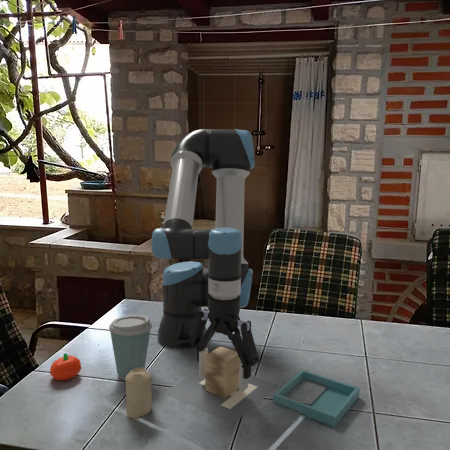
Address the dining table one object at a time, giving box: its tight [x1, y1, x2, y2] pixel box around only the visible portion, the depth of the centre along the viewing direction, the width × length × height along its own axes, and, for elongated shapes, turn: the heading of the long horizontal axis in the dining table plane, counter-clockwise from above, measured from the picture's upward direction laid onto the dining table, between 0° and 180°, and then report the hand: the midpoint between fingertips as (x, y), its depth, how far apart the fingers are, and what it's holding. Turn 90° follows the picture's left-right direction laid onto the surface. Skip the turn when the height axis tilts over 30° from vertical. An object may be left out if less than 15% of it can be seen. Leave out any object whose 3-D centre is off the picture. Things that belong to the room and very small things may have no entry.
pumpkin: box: [49, 352, 82, 381], centre depth 118 cm, size 7×8×6 cm
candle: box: [125, 368, 153, 420], centre depth 103 cm, size 6×6×10 cm
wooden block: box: [205, 346, 242, 398], centre depth 112 cm, size 6×6×9 cm
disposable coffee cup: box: [108, 314, 153, 381], centre depth 119 cm, size 11×11×15 cm
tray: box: [272, 369, 361, 429], centre depth 109 cm, size 15×15×2 cm
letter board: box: [163, 371, 280, 424], centre depth 113 cm, size 20×20×1 cm
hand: (222, 382), depth 112 cm, fingers open, 11 cm apart
